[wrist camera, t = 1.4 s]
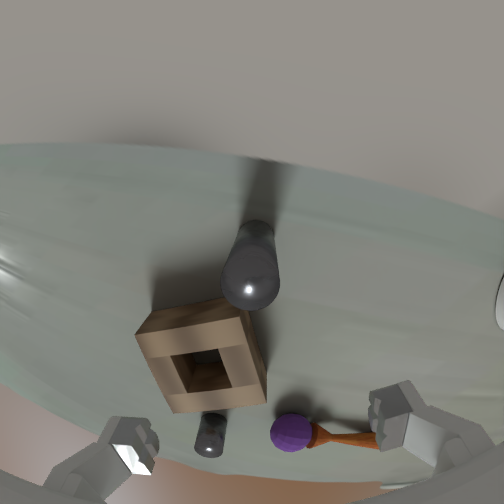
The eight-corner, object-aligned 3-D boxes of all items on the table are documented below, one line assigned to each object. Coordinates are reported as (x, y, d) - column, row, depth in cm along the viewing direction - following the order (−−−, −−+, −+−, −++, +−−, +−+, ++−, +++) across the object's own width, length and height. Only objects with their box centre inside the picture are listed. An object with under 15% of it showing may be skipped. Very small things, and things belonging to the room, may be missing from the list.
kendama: (374, 462, 40) (263, 455, 37) (369, 435, 45) (264, 422, 42) (397, 446, 37) (281, 438, 34) (389, 417, 42) (279, 402, 40)
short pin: (222, 411, 41) (217, 440, 36) (230, 428, 42) (226, 457, 37) (197, 414, 42) (190, 442, 36) (206, 430, 43) (200, 458, 37)
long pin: (269, 216, 34) (272, 248, 20) (277, 251, 35) (285, 303, 21) (233, 224, 34) (213, 262, 21) (242, 259, 35) (229, 315, 22)
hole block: (243, 293, 36) (239, 316, 30) (266, 373, 39) (266, 403, 33) (151, 311, 37) (134, 334, 32) (183, 385, 40) (173, 413, 35)
